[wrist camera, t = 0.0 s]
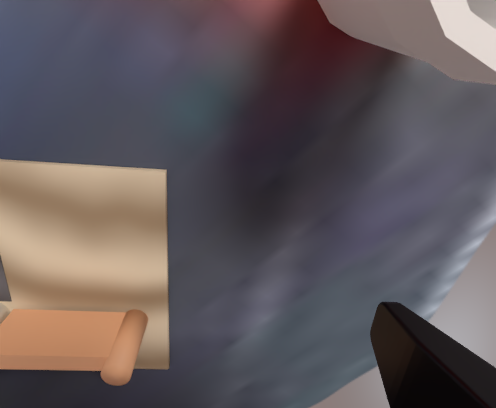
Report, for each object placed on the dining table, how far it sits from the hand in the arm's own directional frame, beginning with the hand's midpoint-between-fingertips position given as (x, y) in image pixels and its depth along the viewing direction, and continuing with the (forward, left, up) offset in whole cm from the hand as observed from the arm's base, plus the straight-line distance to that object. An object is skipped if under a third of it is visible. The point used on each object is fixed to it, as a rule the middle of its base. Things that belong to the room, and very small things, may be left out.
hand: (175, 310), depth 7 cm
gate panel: (-13, +9, -14) cm, 21 cm away
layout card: (-10, +14, -15) cm, 23 cm away
